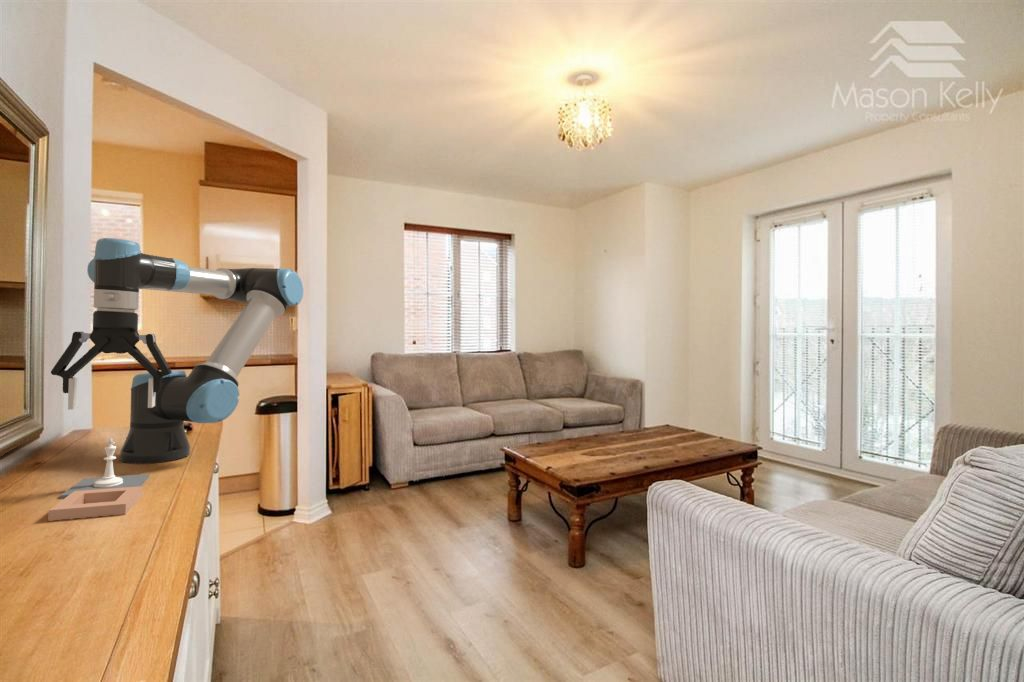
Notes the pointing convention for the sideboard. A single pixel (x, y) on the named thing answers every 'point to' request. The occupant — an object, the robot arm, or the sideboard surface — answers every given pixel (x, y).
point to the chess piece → (109, 468)
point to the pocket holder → (96, 503)
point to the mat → (89, 485)
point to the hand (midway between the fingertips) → (113, 407)
